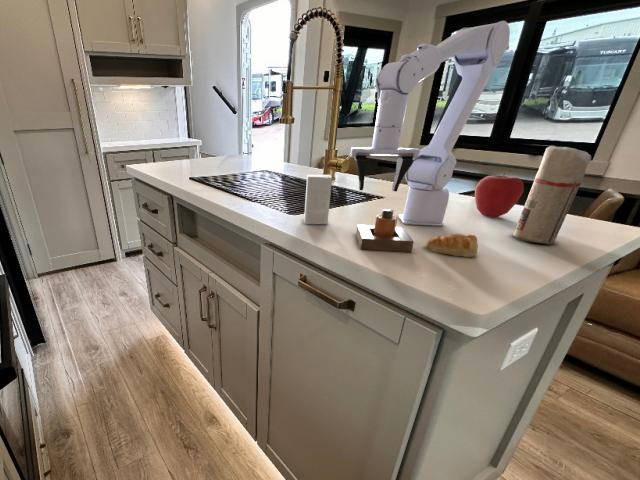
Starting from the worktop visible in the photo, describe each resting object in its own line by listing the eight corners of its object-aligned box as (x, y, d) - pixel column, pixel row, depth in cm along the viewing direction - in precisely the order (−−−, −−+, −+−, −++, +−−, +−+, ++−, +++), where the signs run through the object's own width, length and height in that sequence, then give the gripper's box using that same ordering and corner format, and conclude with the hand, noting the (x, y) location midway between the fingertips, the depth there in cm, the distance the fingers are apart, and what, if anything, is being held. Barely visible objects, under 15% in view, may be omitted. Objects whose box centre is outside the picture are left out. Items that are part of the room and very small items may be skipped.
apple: (515, 215, 102) (531, 172, 97) (510, 223, 95) (527, 177, 90) (472, 208, 109) (484, 168, 103) (464, 216, 101) (477, 172, 96)
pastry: (428, 254, 75) (433, 237, 73) (421, 244, 81) (425, 227, 79) (478, 258, 73) (484, 240, 71) (467, 247, 79) (472, 230, 77)
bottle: (383, 239, 84) (389, 207, 80) (396, 245, 80) (403, 211, 77) (367, 241, 83) (373, 208, 79) (379, 247, 79) (386, 213, 75)
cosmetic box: (325, 220, 98) (330, 174, 92) (327, 225, 94) (333, 177, 88) (303, 219, 98) (307, 174, 92) (304, 224, 94) (308, 177, 89)
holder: (401, 237, 85) (403, 226, 84) (411, 252, 76) (413, 241, 75) (355, 234, 87) (357, 224, 86) (360, 249, 78) (362, 238, 77)
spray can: (515, 231, 89) (549, 144, 79) (557, 239, 84) (598, 146, 74) (507, 239, 83) (541, 146, 74) (551, 248, 78) (594, 149, 69)
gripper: (356, 127, 76) (347, 192, 83) (428, 127, 74) (413, 194, 81) (353, 125, 82) (345, 186, 89) (420, 126, 80) (406, 188, 87)
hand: (377, 190), depth 85 cm, fingers open, 7 cm apart
